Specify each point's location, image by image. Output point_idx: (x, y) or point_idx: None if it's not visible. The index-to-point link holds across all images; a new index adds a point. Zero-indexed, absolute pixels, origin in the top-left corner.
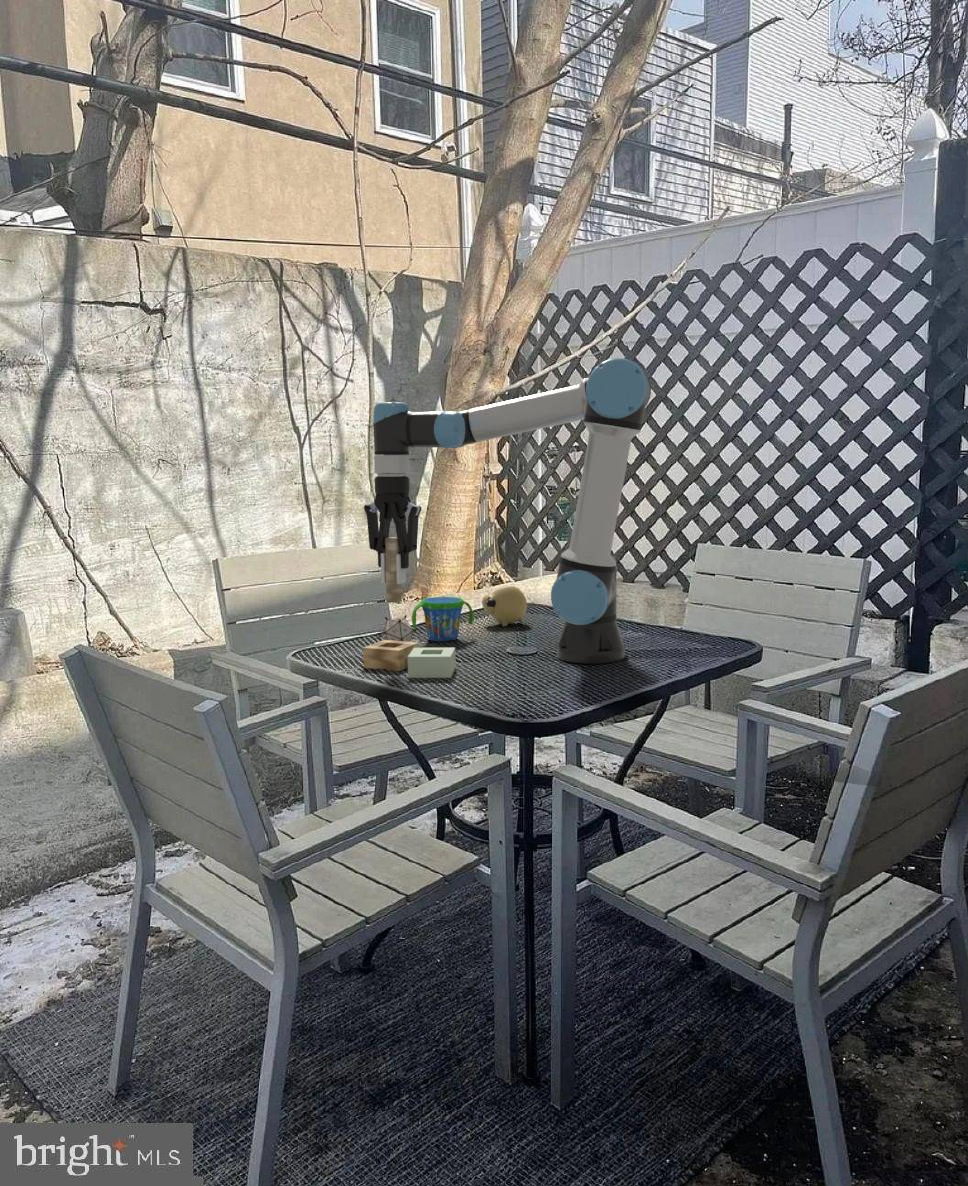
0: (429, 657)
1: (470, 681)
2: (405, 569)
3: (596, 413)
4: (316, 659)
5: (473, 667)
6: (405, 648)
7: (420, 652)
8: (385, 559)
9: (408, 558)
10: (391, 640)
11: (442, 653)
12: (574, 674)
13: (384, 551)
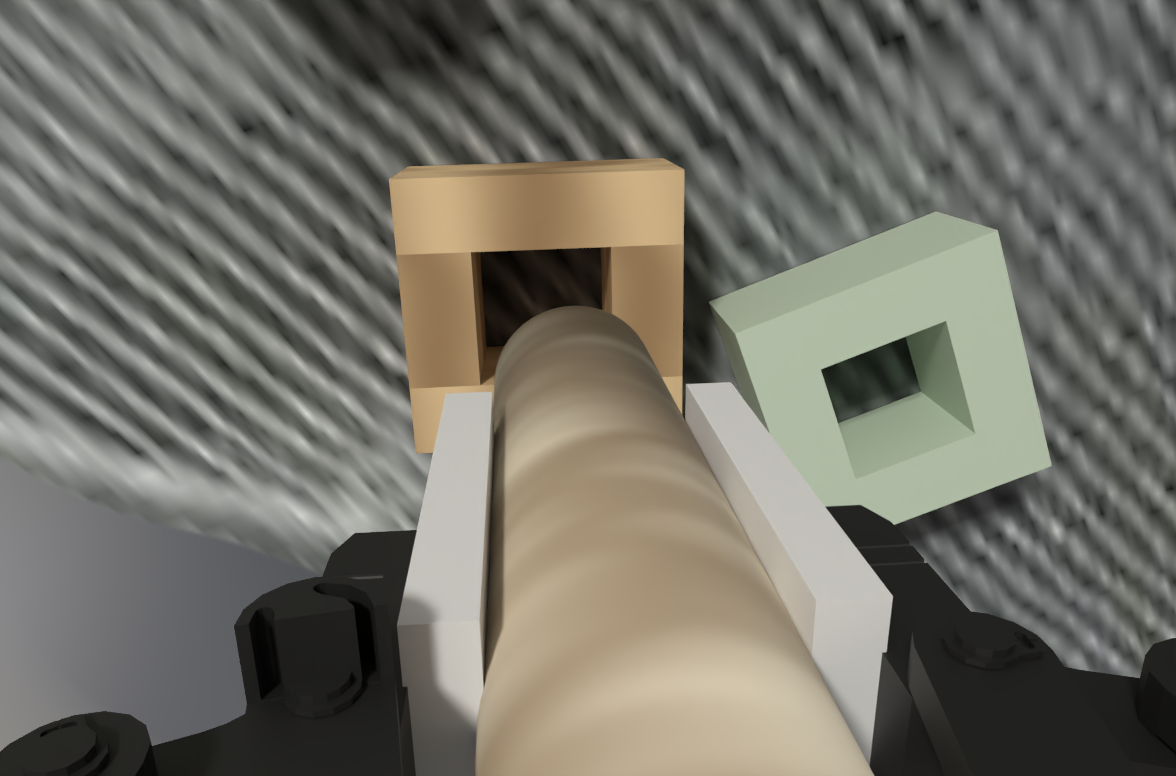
0: (932, 508)
1: (1105, 443)
2: (781, 457)
3: None
4: (4, 331)
5: (1033, 161)
6: (681, 357)
7: (837, 438)
8: None
9: (950, 599)
10: (454, 179)
11: (978, 413)
12: None
13: (407, 751)
